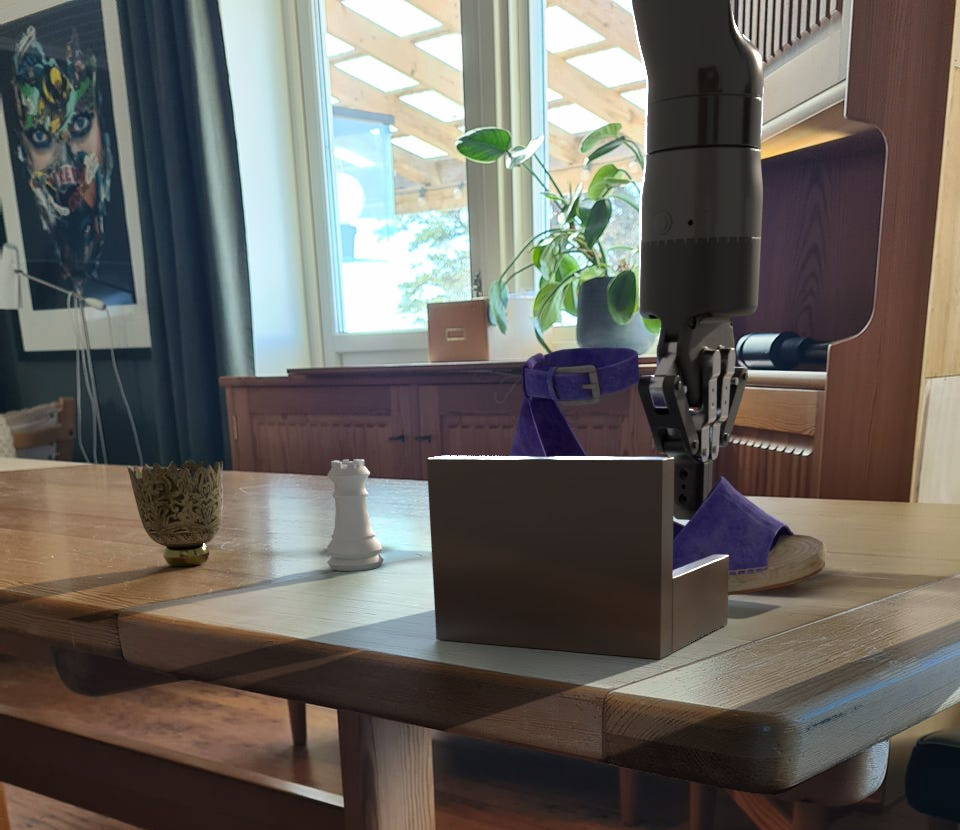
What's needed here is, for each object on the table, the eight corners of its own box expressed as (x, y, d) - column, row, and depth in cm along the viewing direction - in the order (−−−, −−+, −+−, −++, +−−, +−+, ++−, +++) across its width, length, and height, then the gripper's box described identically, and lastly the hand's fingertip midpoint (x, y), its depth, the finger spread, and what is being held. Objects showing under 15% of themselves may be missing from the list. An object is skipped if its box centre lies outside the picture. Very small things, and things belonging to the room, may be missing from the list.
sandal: (801, 604, 78) (785, 349, 70) (516, 597, 88) (473, 373, 80) (838, 550, 84) (827, 309, 76) (566, 549, 93) (530, 336, 85)
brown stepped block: (518, 609, 81) (513, 444, 78) (727, 624, 74) (732, 444, 71) (436, 639, 74) (426, 458, 70) (660, 659, 67) (662, 459, 63)
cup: (251, 561, 106) (240, 460, 103) (176, 574, 101) (163, 468, 98) (197, 555, 110) (185, 458, 107) (123, 567, 105) (109, 466, 102)
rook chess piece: (353, 573, 97) (345, 464, 94) (315, 569, 100) (306, 462, 97) (396, 565, 100) (389, 458, 97) (357, 561, 103) (350, 457, 100)
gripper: (715, 228, 73) (704, 536, 80) (793, 235, 83) (778, 507, 90) (598, 236, 77) (597, 530, 84) (687, 241, 87) (680, 503, 94)
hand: (691, 518), depth 87 cm, fingers closed
